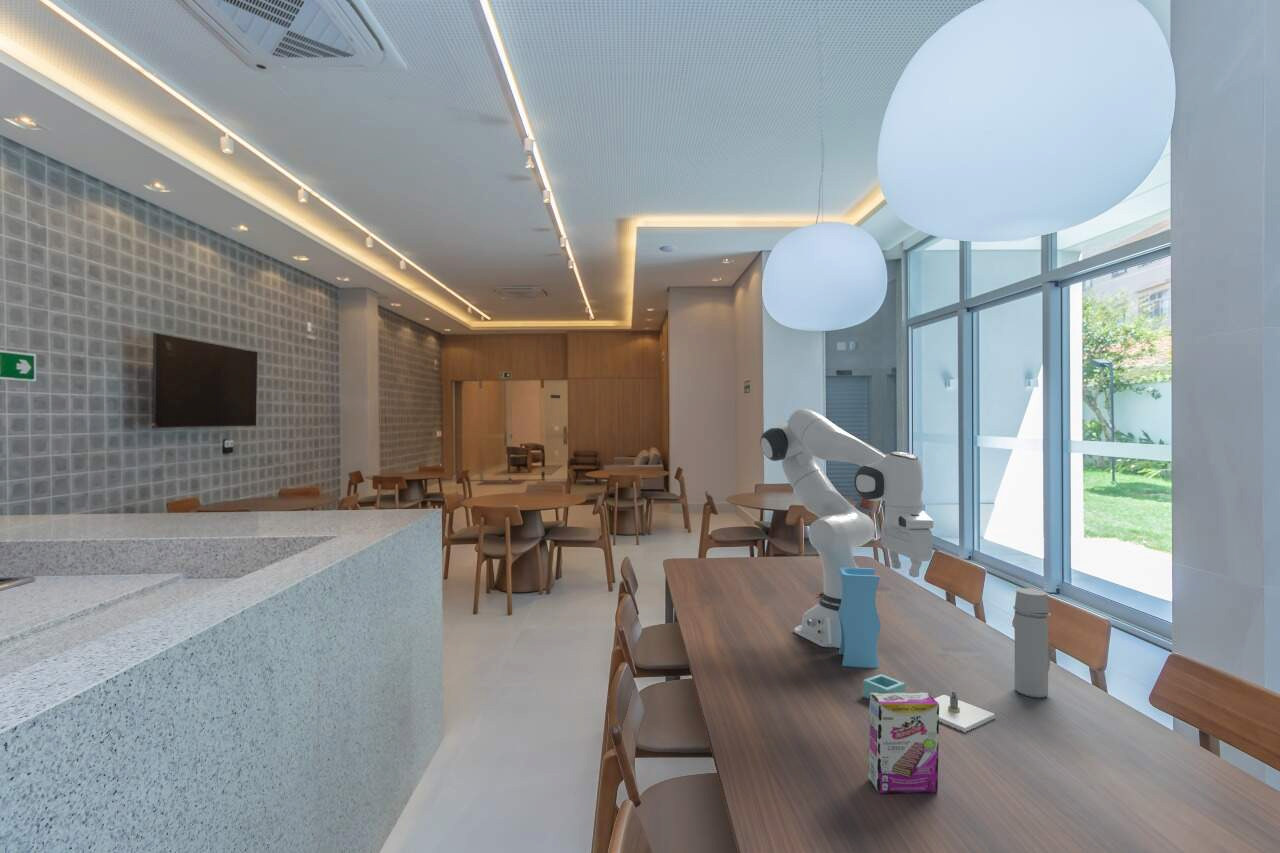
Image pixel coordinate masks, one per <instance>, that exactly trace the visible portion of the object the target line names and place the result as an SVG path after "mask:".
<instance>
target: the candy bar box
mask: <svg viewBox="0 0 1280 853" xmlns="http://www.w3.org/2000/svg"><path fill="white" fill-rule="evenodd" d="M868 700H869V701H868V702H869V704H868V705H869V708H868V709H869V712H868V714H869V715H868V765H867V766H868V769H867V770H868V772H867V773H868V776H867V778H868V780H869V782H870V783H871V784H872V786H873V788H874V789H875V791H876V792H877V793H878V794H906V793H907V794H911V793H913V794H914V793H916V794H917V793H924V794H925V793H938V790H939V787H938V786H939V785H938V784H939V782H938V781H939V740H940V739H939V738H940V737H939V734H940V733H939V731H940V722H939V703H938V702H937V701H936V700H934V698H933V697H932V696H931V694H929V693H928V692H905V693H870V697H869V699H868Z"/></svg>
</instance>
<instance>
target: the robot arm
mask: <svg viewBox="0 0 1280 853" xmlns="http://www.w3.org/2000/svg"><path fill="white" fill-rule="evenodd" d="M759 442H760V443H759V444H760V447H761V449H762V452H763V454H764V455H765V457H766V458H768V460H770V461H773V462H779V461H781V467H782V469H783V473H784V474H785V476H786V478H787V481H788V483H789V484H790V486H791V487H792V488H791V489H793V491H794V493H795V494H796V496H797V497H798V498H799V501H800V502H801V504H802V505H803V507H804V508H805V509H806V510H807V511H808V512H810V513H812V514H814V515H815V516H817V517H818V518H817V519H816V520H815V521H813V522H812V523H811V524H810V525H809V529H808V539H809V542H810V544H811V545H812V547H813V548H814V549H816V551H817V552H818V555H819V557H820V561H821V565H822V572H823V591H822V592H820V593H818V594H816V596H815V597H816V599H819V601H818V603H817V604H816V605H813V607H811V608H809V609H807V610H806V611H805V612H804V613H803V615H802V619H801V625H798V626H797V625H796V627H794V629H793V633H795V634H797V635H798V636H801V637H802V638H804V639H806V640H808V641H810V642H812V643H814V644H816V645H818V646H820V647H823V648H838V649H840V644H841V625H840V620H839V615H838V610H839V607H840V604H841V600H842V592H843V590H842V580H841V575H840V569H839V568H842V567H849V568H860V566H858V565H857V564H856V562H855V559H854V555H853V549H855V548H859V547H862V546H864V545H866V544H867V543H869V542H871V540H872V539H873V538H874V536H875V532H876V526H875V523H874V520H873V519H872V518H871V517H870V516H869V515H867V514H866V513H863V512H862V511H860V510H858V509H857V508H856V507H855V506H854V505H853V504H851V503H850V501H848V500H847V499H846V498H845V497H844V496H842V494H841V493H840V492H839V491H838V490H837V489H836V488H835V486H834V485H833V484H832V482H831V481H830V479H829V477H828V476H827V475H826V474H825V472H824V470H823V469H822V468H821V466H820V465H819V464H818V462H817V461H816V459H815V458H818V459H819V460H823V461H828V462H829V461H830V462H846V463H850V464H855V465H858V466H860V467H859V468H858V469H857V471H856V472H855V474H854V478H853V479H854V481H853V485H854V489H855V491H856V493H857V495H858V496H859V497H860V498H861V499H863V500H865V501H871V502H872V501H873V502H877V501H884V519H883V521H882V522H881V529H880V544H881V547H882V548H884V549H887V550H888V554H889V557H890V561H891V568H893V569H896V570H897V569H898V570H899V569H901V567H902V563H901V561H900V558H899V555H900V556H904V557H906V558H909V559H910V563H911V566H910V568H908V575H909V576H910V577H912V578H919V576H920V569H921V567H922V564H923V562H930V561H931V559H932V556H933V542H934V541H933V540H934V539H933V532H932V530H931V529H933V528H934V520H933V519H932V518H931V517H930V516H929V515H928V514H927V513H926V511H925V510H924V503H923V499H922V492H923V490H924V489H923V488H924V487H923V486H924V484H923V483H924V481H923V477H924V476H923V469H922V463H921V461H920V458H919V457H918V456H916V455H915V454H914V453H911V452H904V451H903V452H901V451H890V452H888V453H884V452H882V451H880V450H879V449H878V448H876V447H874V446H872V445H871V444H869V443H867V442H865V441H863V440H861V439H859V438H858V437H856V436H854V435H853V434H850V433H849V432H847V431H845V430H844V429H843V428H841V427H839V426H838V425H837V424H835V423H833V422H832V421H831V420H829V419H828V418H827V417H825V416H823V415H822V414H820V413H818V412H816V411H814V410H811V409H809V408H799V409H797V410H795V411H794V412H793V413H792V414H791V415H790V416H789V418H788V419H787V420H786V421H785V422H783V423H780V424H778V425H776V426H774V427H771V428H768V429H767V430H766V431H764V432H763V433H762V434H761V436H760V441H759ZM814 457H815V458H814Z"/></svg>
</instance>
